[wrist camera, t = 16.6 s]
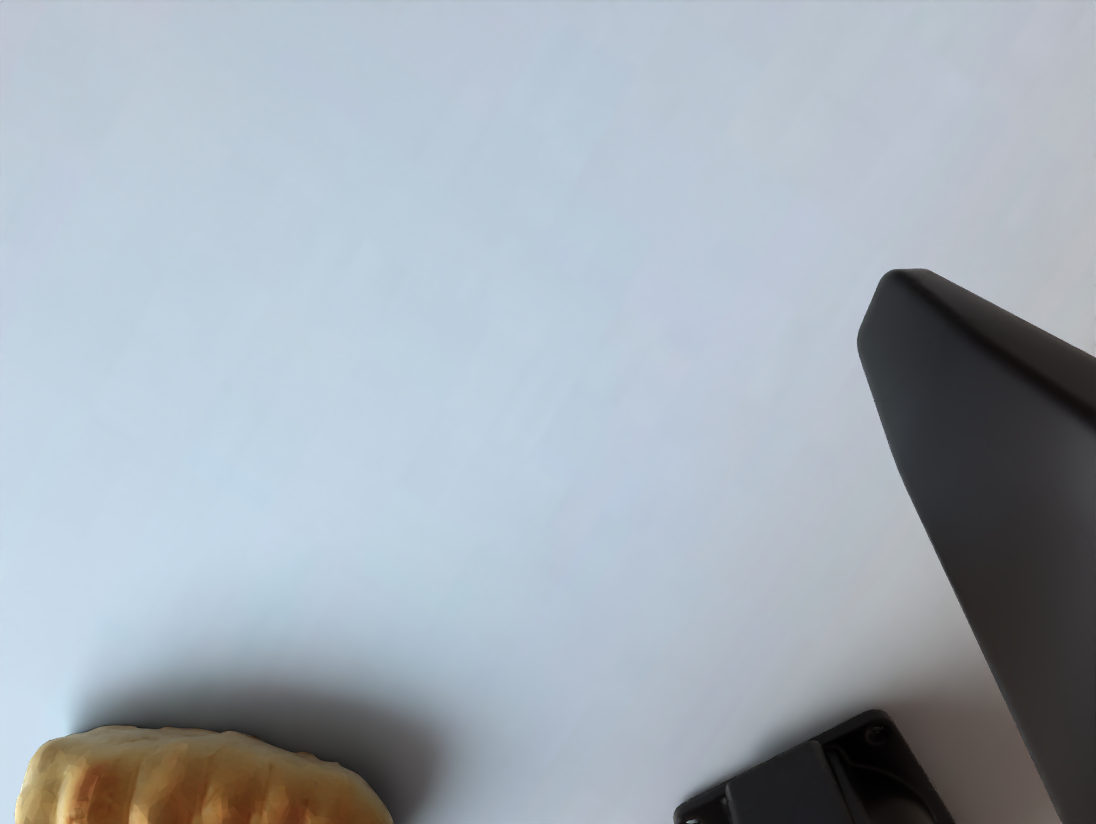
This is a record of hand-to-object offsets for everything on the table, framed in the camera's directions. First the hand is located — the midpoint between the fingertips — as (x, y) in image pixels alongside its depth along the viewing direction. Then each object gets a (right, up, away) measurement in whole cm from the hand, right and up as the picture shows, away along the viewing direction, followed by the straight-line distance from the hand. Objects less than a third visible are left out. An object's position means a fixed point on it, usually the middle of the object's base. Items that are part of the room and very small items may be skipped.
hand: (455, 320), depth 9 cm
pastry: (-9, -12, +18) cm, 23 cm away
